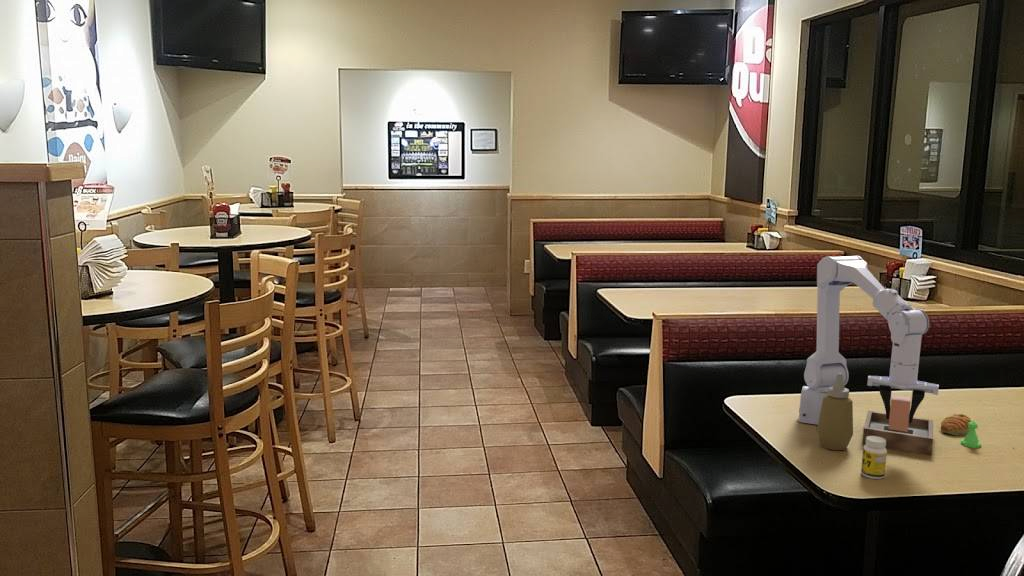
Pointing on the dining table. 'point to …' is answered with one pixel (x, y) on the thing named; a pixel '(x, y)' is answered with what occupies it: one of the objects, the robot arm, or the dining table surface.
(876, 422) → the socket box
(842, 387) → the squeeze bottle
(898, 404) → the peg
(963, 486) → the dining table surface
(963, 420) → the pastry
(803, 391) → the robot arm
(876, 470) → the supplement bottle
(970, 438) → the game piece
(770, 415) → the dining table surface
